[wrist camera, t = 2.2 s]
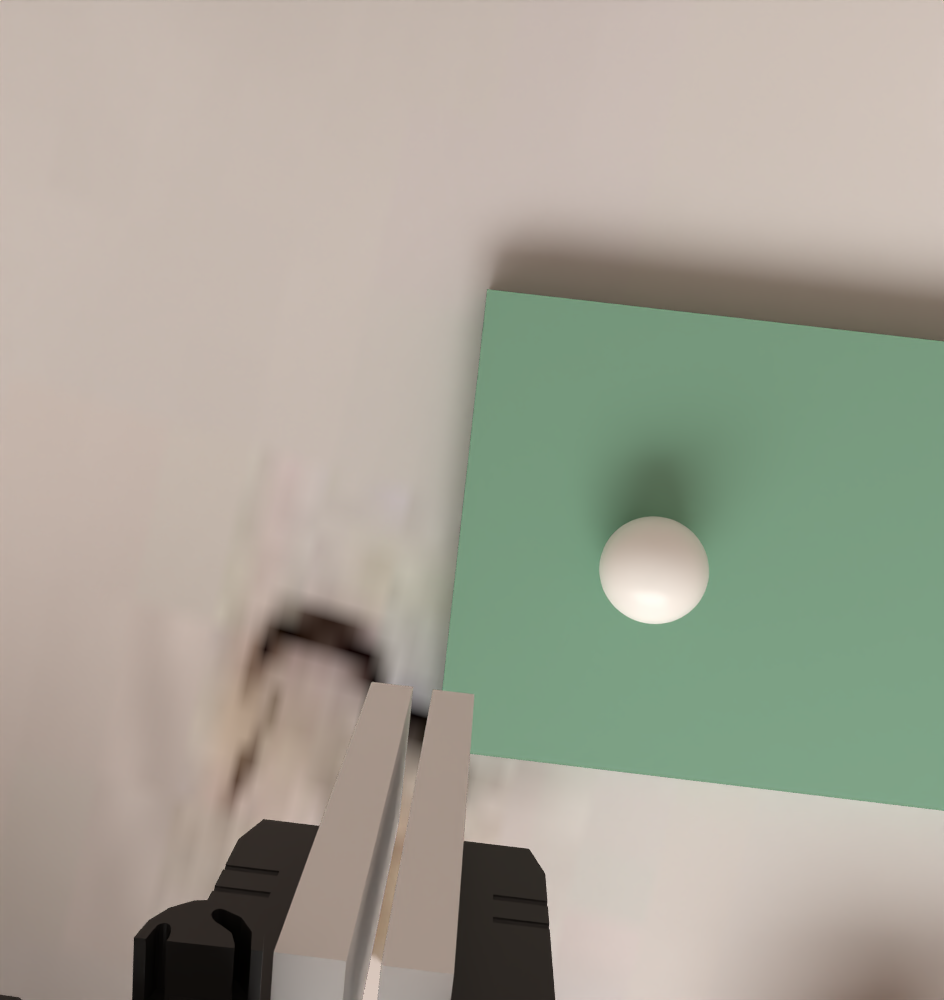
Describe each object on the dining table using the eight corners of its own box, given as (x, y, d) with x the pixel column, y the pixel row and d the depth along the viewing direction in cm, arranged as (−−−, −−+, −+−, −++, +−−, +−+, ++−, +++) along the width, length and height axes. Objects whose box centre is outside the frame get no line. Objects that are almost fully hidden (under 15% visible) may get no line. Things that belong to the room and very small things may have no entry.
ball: (586, 596, 31) (598, 633, 28) (601, 500, 31) (615, 524, 27) (686, 608, 31) (711, 646, 28) (703, 512, 31) (731, 538, 27)
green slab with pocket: (439, 725, 35) (430, 779, 31) (488, 291, 31) (486, 286, 27) (1242, 822, 35) (1342, 889, 30) (1391, 394, 31) (1528, 405, 27)
